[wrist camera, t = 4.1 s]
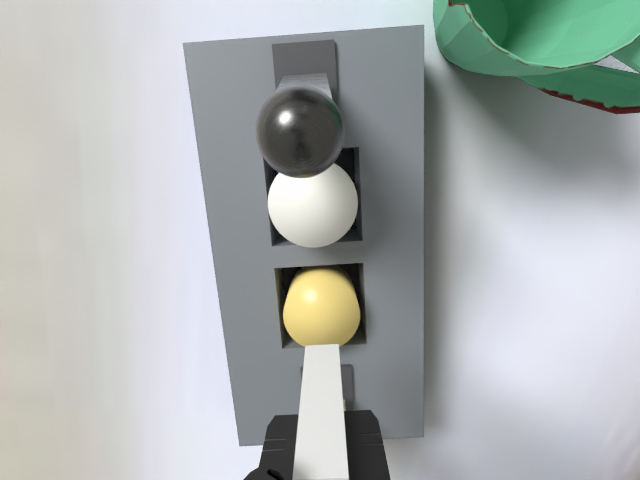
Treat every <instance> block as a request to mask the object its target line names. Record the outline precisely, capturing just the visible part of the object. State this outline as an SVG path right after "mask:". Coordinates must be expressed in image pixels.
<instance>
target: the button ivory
mask: <svg viewBox="0 0 640 480" xmlns="http://www.w3.org/2000/svg"><path fill="white" fill-rule="evenodd" d="M357 208H358V198H357V192H356V189H355V186H354V184H353V182H352V180H351V178H350V177H349V176H348V174H347V173H346V172H345V171H344V170H343V169H342V168H341V167H339V166H338V165H336V164H335V163H333V165H332V166H331V167H329V168H328V169H327V170H326V171H324V172H323V173H321V174H319V175H316V176H314V177H310V178H292V177H288V176H285V175H283V174H281V173H278V175H277V176H276V177H275V179H274V181H273V183H272V185H271V187H270V190H269V195H268V210H269V214H270V218H271V220H272V222H273V224H274V226H275V228H276V229H277V230H278V231H279V233H280V234H281V235H282V236H283V237H285V238H286V239H287V240H289V241H290V242H292V243H294V244H297V245H299V246H303V247H310V248H316V247H323V246H327V245H329V244H332V243H334V242H336V241H337V240H339V239H340V238H341V237H343V236H344V235H345V234H346V233H347V231H348V230H349V229H350V227H351V226H352V224H353V222H354V220H355V217H356V214H357Z"/></svg>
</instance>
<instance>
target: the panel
mask: <svg viewBox="0 0 640 480" xmlns="http://www.w3.org/2000/svg"><path fill="white" fill-rule="evenodd" d="M183 48H184V56H185V63H186V70H187V77H188V84H189V91H190V98H191V105H192V112H193V119H194V126H195V134H196V141H197V148H198V155H199V162H200V169H201V176H202V183H203V190H204V197H205V205H206V212H207V219H208V226H209V233H210V240H211V247H212V254H213V261H214V268H215V275H216V283H217V290H218V297H219V304H220V311H221V318H222V325H223V332H224V339H225V346H226V353H227V361H228V368H229V375H230V382H231V389H232V396H233V403H234V410H235V417H236V424H237V432H238V439H239V446H255V445H264V441H265V435H266V430H267V426H268V425H269V423H270V422H271V420H272V419H273V418H274V416H275V415H292V414H299V407H300V396H301V386H302V376H303V365H304V355H305V347H304V346H302V345H300V344H298V343H297V342H296V341H295V340H294V339H293V338H292V337H291V336H290V335H289V333H288V332H287V329H286V327H285V324H284V320H283V311H284V306H285V302H286V300H285V289H284V278H283V268H286V267H302V266H318V265H334V264H351V263H358V268H359V291H360V314H361V319H360V322H359V325H358V328H357V330H356V332H355V334H354V335H353V336H352V338H351V339H350V340H349V341H348V342H346V343H345V344H343V345H342V346H340V347H339V355H340V368H341V382H342V395H343V399H345V407H346V411H356V410H371V411H372V412H373V414H374V415H375V416H376V418H377V419H378V421H379V426H380V431H381V436H382V439H393V438H413V437H424V25H414V26H401V27H388V28H375V29H361V30H348V31H335V32H322V33H309V34H295V35H282V36H269V37H256V38H243V39H229V40H216V41H203V42H190V43H183ZM317 73H326V75H327V79H328V83H329V88H330V92H331V96H332V100H333V101H334V102H335V104H336V105H337V107H338V108H339V110H340V112H341V115H342V117H343V121H344V127H345V139H344V144H343V147H342V149H353V152H354V175H355V189H356V192H357V198H358V208H357V214H356V222H357V229H350V230H348V231H347V233H346V234H345V235H344V236H343V237H341V238H340V239H339V240H337V241H336V242H334V243H332V244H329V245H327V246H323V247H316V248H310V247H303V246H299V245H297V244H294V243H292V242H290V241H289V240H287V239H286V238H285V237H283V236H282V235H281V234H279V231H278V230H277V229H276V228H275V226H274V224H273V222H272V220H271V218H270V214H269V210H268V195H269V190H270V187H271V185H272V183H273V181H274V173H273V168H272V167H271V166H270V165H269V164H268V163H267V162H266V161H265V159H264V158H263V156H262V154H261V152H260V150H259V148H258V145H257V140H256V133H255V131H256V121H257V117H258V114H259V112H260V110H261V108H262V106H263V104H264V103H265V102H266V101H267V99H268V98H269V97H270V96H272V95H273V94H274V93H275V92H276V90H277V88H278V86H279V84H280V82H281V80H282V78H283V76H290V75H303V74H317Z"/></svg>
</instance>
